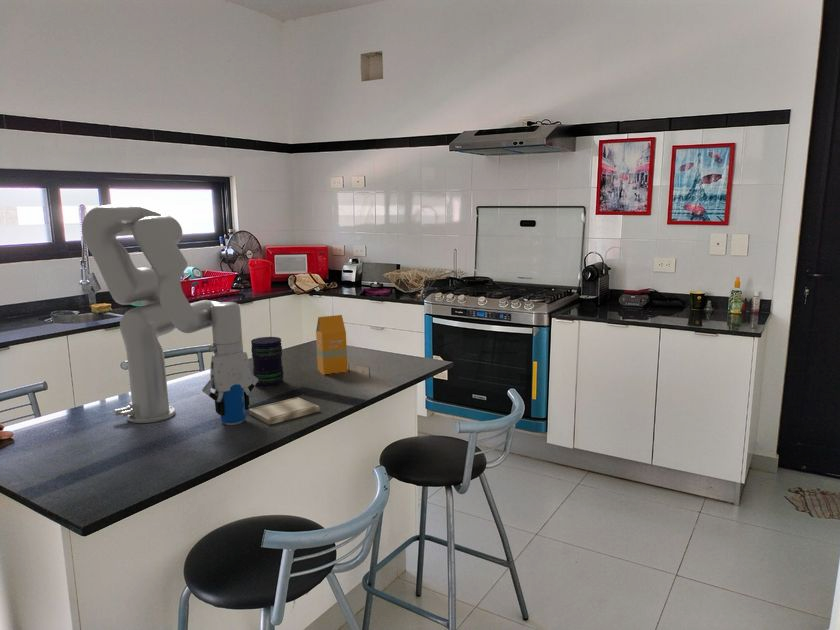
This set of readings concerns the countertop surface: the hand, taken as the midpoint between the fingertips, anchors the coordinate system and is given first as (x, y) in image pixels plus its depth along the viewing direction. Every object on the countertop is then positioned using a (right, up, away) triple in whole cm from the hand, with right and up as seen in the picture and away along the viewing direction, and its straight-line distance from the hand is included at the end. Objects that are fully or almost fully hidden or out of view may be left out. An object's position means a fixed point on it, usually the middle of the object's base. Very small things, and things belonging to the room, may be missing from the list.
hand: (233, 410), depth 171 cm
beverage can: (0, -3, +1) cm, 3 cm away
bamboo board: (+13, -2, +7) cm, 15 cm away
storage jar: (+1, +3, +37) cm, 37 cm away
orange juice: (+20, +6, +51) cm, 55 cm away
